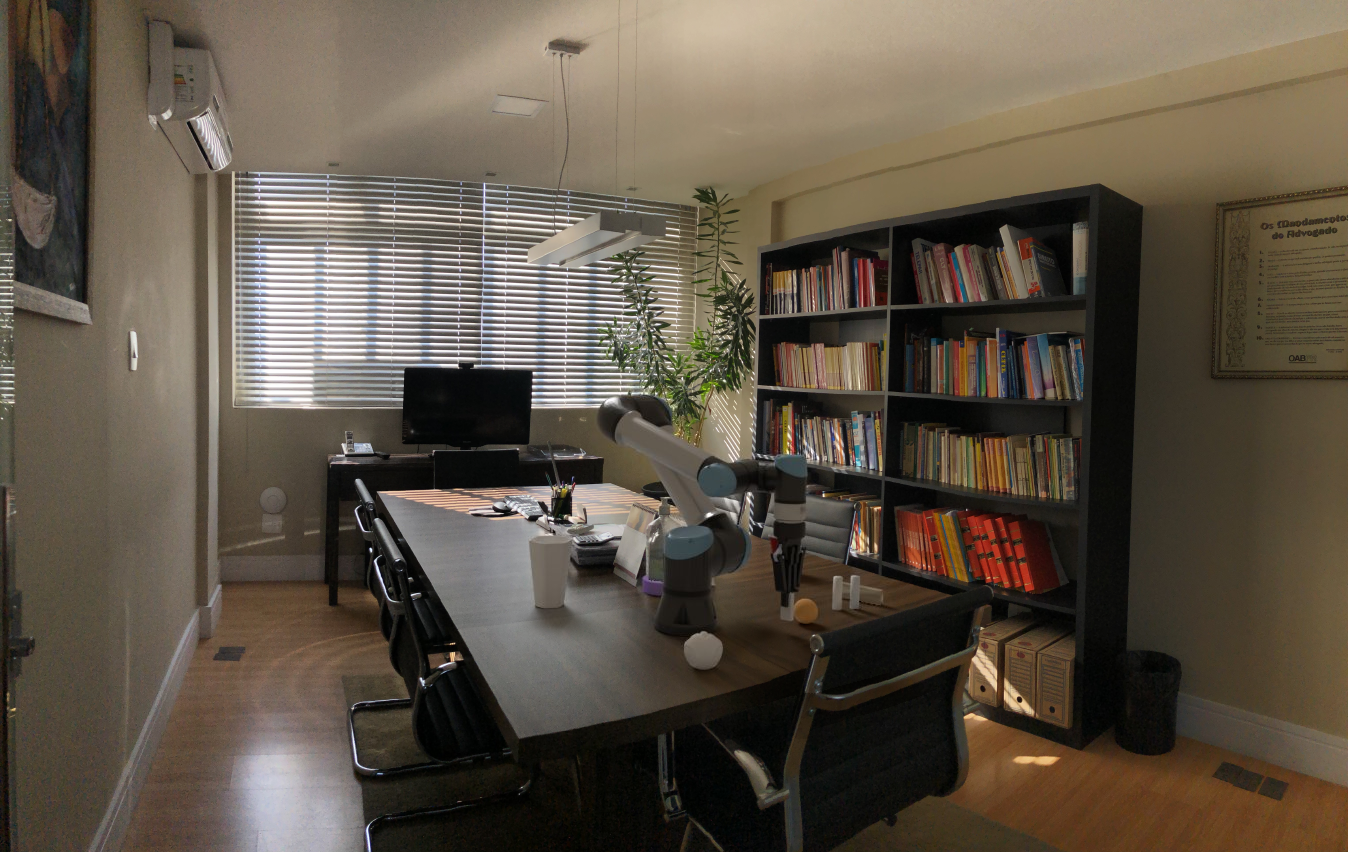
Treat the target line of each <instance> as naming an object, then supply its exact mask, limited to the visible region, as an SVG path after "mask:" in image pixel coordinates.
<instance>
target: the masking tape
mask: <svg viewBox="0 0 1348 852" xmlns="http://www.w3.org/2000/svg"><path fill="white" fill-rule="evenodd" d="M647 575H648V574H646V575H644V576H643V577H642V592H644V593H645V594H648V595H652V596H659V597H660V596H661V597H662V593H663V582H661V581H654V580H652V581H651V580H648V576H647Z"/></svg>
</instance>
